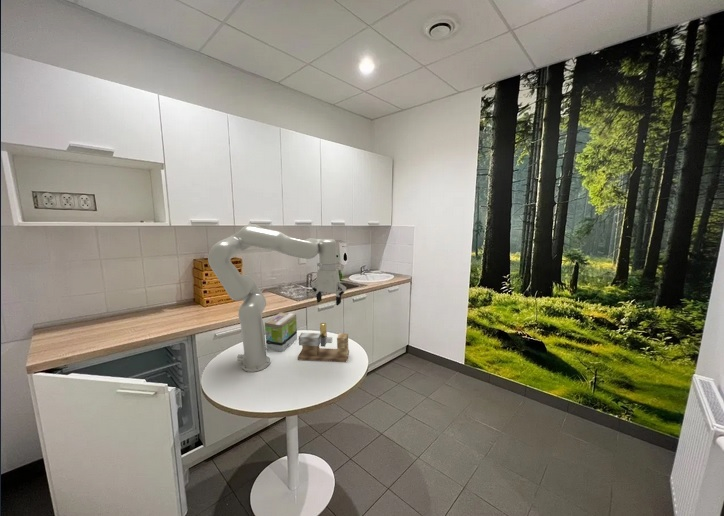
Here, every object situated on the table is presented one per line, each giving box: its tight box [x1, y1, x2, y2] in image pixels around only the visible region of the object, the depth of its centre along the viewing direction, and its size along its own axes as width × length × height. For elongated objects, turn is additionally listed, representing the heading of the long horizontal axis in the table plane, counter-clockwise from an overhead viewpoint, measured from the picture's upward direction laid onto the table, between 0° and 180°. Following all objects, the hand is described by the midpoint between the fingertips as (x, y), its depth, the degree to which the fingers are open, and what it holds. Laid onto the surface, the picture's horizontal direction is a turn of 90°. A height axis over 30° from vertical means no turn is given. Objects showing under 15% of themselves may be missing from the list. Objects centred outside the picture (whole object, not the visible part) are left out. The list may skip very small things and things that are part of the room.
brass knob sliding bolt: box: [319, 322, 333, 347], centre depth 143 cm, size 14×4×10 cm, turn 84°
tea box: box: [264, 311, 298, 353], centre depth 156 cm, size 15×10×15 cm, turn 164°
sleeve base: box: [297, 332, 350, 363], centre depth 144 cm, size 24×9×11 cm, turn 84°
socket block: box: [336, 332, 350, 357], centre depth 143 cm, size 4×5×10 cm
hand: (328, 303), depth 136 cm, fingers open, 9 cm apart
